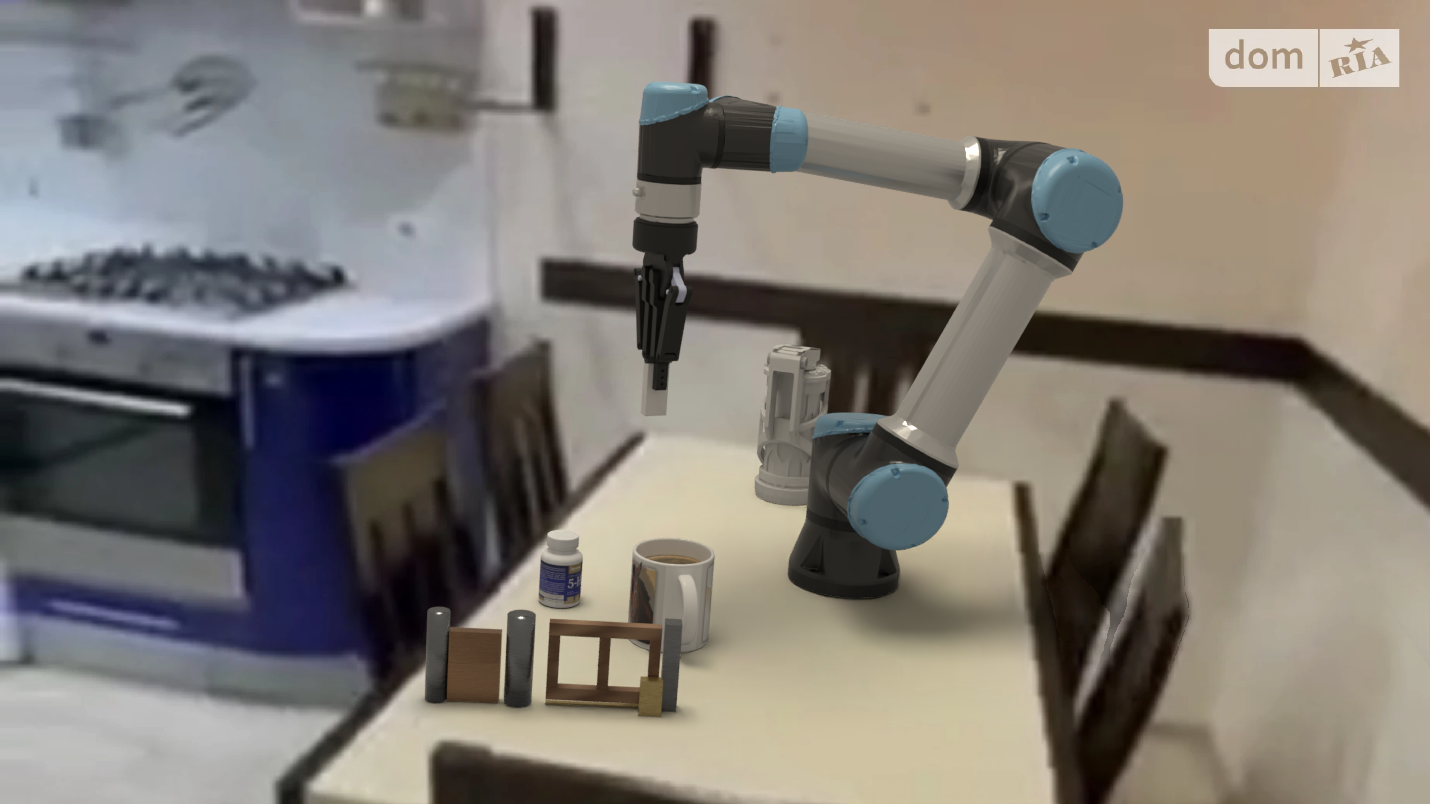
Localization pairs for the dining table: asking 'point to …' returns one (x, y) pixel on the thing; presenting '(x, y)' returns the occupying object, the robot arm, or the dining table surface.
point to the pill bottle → (561, 570)
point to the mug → (672, 588)
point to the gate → (599, 659)
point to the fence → (484, 662)
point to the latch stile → (663, 675)
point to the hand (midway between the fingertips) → (653, 414)
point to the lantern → (789, 422)
